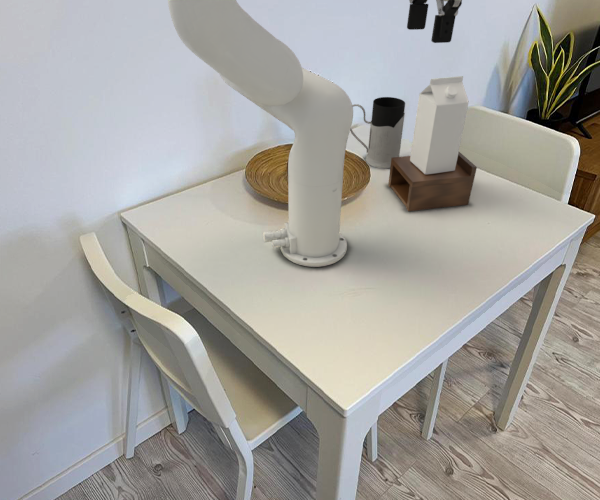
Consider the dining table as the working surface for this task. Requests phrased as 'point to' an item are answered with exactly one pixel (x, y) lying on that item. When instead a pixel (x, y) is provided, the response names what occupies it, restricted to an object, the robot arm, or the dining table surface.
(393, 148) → the glass holder
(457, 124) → the milk carton
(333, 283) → the dining table surface
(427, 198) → the brown wooden box
